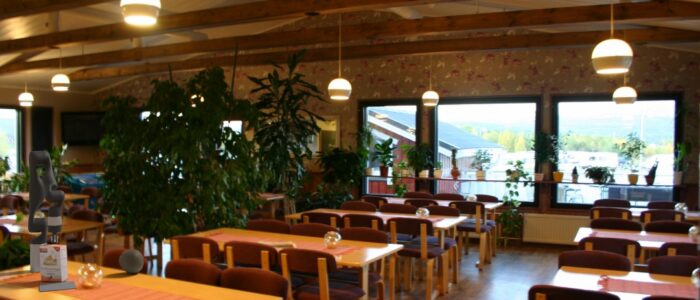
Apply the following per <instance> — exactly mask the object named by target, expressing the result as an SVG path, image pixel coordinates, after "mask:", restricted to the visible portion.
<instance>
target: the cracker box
mask: <svg viewBox="0 0 700 300" xmlns="http://www.w3.org/2000/svg"><path fill="white" fill-rule="evenodd" d="M67 248H68V247H67V244H57V245H53V244H52V243H51V244H50V243H47V244H45V245H42V246H40V265H41V272H40V280H41V282H50V283H55V282H66V281H69V270H68V251H67Z"/></svg>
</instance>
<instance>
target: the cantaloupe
mask: <svg viewBox="0 0 700 300" xmlns="http://www.w3.org/2000/svg"><path fill="white" fill-rule="evenodd" d="M118 263H119V266H120V267H121V269H122V270H123V271H124V272H125V273H128V274H136V273H139V272H140V271H141V270H142V269H143V267H144V255H143V254H142V252H140V251H139V250H138V249H133V248H132V249H128V250H127V249H126V250H124V251H122V253H121V255H119V258H118Z"/></svg>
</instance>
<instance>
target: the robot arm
mask: <svg viewBox="0 0 700 300" xmlns="http://www.w3.org/2000/svg"><path fill="white" fill-rule="evenodd" d="M42 166H44V167H45V170H44V172H43V174H42V178H41V177H40V175H39V173H38V171H37V167H42ZM28 169H29V170H28V171H29V184H28V185H29V186H28V205H29V206H28V218H27V230H28V231H27V232H28V233H30V234H35V233H36V234H37V233H39V235H37V236H35V237H33V238H31V239H30V242H29V243H30V245H29V247H30V250H29V251H30V255H29V257H30V259H29V261H30V262H29V263H30V264H29V271H30V272H31V273H41V265H40V246H42V245H45V244H48V233H49V234H50V233H51V235H50V239H51V240H50V243H51V244H53V245H58V243H59V234H58V233H61V232H63V230H62V229H63V228H62V227H63V225H62V224H63V223H62V222H63V221H62V208H63V204H64V202H65V198H66V193H65V192H64V191H63V190H59V189H58V183H57V180H56V178H55V175H54V169H53V165H52V159H51V156H50V153H49V152H48V151H46V150H33V151H30V152H29V154H28ZM57 189H58V190H57ZM44 201H46V202H47V203H50V204H51V203H55V205H51V206H49V207H48V208H47V211H48V212H47V214H48V215H47V217H35V215H36V214H37V211H38V209H39V207H40V206H42V204H43V202H44Z"/></svg>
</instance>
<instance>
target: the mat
mask: <svg viewBox="0 0 700 300" xmlns="http://www.w3.org/2000/svg"><path fill="white" fill-rule="evenodd" d="M76 289H77V287H76V282H75V280H66V281H63V282H47V283H45V282H43V283H39V293H44V292H45V293H46V292H55V291H56V292H57V291H66V290H76Z"/></svg>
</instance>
